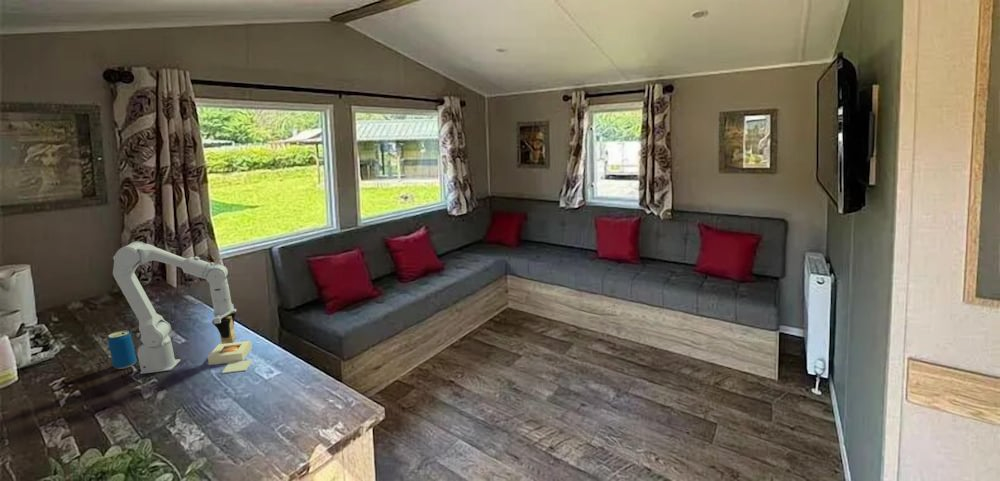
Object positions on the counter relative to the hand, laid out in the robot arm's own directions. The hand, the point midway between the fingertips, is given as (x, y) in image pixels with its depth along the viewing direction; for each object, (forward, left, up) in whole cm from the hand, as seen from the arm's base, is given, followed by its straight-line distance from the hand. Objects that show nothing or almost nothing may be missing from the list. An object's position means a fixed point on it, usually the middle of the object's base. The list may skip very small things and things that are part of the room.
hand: (227, 335), depth 173 cm
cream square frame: (0, 0, -8) cm, 8 cm away
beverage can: (-35, +2, -8) cm, 36 cm away
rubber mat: (+5, -10, -8) cm, 14 cm away
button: (0, 0, -7) cm, 7 cm away
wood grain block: (0, 0, -2) cm, 2 cm away
